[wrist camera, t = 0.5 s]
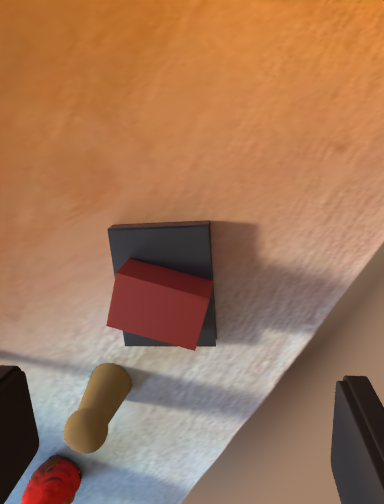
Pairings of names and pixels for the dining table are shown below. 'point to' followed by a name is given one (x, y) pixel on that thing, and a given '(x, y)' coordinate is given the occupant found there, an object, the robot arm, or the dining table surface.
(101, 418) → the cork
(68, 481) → the red clay folk toy
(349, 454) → the robot arm
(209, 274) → the slate hardcover
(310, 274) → the dining table surface
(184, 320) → the pocket dictionary
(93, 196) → the dining table surface
